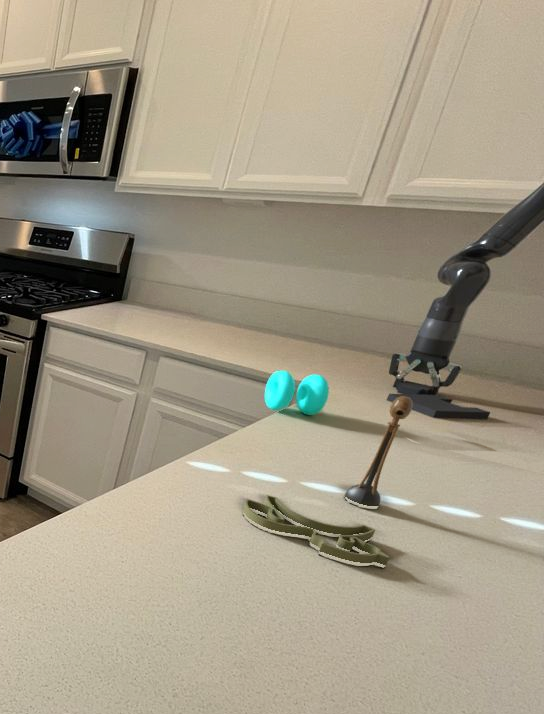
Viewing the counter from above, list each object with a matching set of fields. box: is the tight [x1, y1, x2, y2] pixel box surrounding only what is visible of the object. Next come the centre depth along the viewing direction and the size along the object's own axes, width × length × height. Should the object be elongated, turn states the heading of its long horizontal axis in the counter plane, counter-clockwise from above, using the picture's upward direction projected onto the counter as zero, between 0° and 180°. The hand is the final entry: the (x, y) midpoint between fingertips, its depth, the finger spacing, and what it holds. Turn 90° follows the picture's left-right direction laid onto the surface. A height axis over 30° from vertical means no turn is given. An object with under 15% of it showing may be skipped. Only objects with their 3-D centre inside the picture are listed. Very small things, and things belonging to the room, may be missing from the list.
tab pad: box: [395, 380, 432, 395], centre depth 160 cm, size 9×6×4 cm, turn 122°
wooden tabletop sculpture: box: [344, 396, 413, 507], centre depth 98 cm, size 6×5×20 cm
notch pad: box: [386, 393, 491, 420], centre depth 147 cm, size 14×12×4 cm
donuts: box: [264, 369, 330, 416], centre depth 144 cm, size 10×10×10 cm
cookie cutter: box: [243, 494, 390, 566], centre depth 91 cm, size 18×12×2 cm, turn 46°
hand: (412, 394), depth 161 cm, fingers closed on tab pad, 6 cm apart
